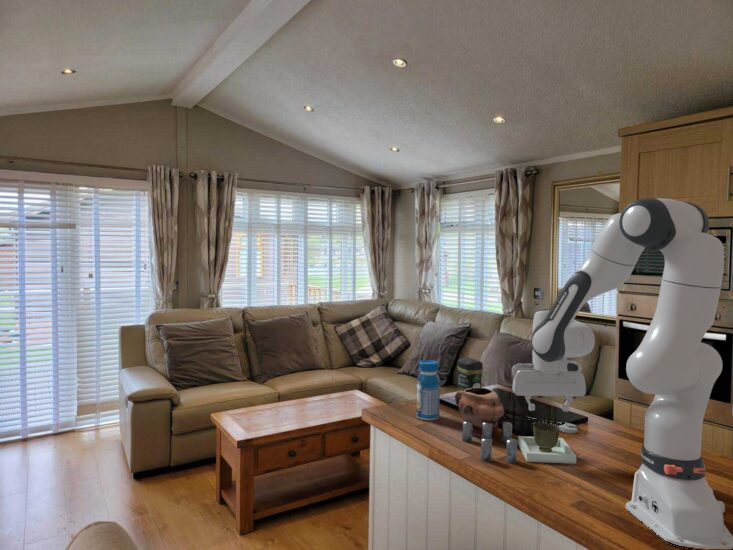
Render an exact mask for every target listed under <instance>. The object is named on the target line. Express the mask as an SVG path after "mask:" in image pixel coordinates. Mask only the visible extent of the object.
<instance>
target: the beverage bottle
mask: <svg viewBox="0 0 733 550" xmlns="http://www.w3.org/2000/svg"><path fill="white" fill-rule="evenodd" d="M418 369H419V370H418V371H419V374H418V376H417V379H416V382H417V384H416V388H415V389H416V412H415V413H416V415H415V416H416V417H417V418H418V419H420V420H422V421H437V420H438V419H439V418H440V393H441V386H440V383H441V379H440V377H439V375H438V372H439V362H438V361H437V360H432V359H422V360H420V361H419V363H418Z"/></svg>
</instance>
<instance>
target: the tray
mask: <svg viewBox="0 0 733 550" xmlns="http://www.w3.org/2000/svg"><path fill="white" fill-rule="evenodd" d="M517 446H519V449H520V451H521V452H522V455H523V457H524V459H525V461H526V462H530V463H531V462H532V463H546V464H549V463H550V464H566V465H567V464H569V465H577V455H576V453H575V452H574V451H573V449H572V448H571V447H570V446H569V444H568V443H567V442H566V441H565V439H564V438H563V437H558V441H557V444H556V446H555V447H553V448H552V452H551V453H545V452H540V450H539V446H538V445H537V444H536V442H535V439H534V436H525V435H524V436H523V435H517Z"/></svg>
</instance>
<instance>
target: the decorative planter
mask: <svg viewBox="0 0 733 550" xmlns="http://www.w3.org/2000/svg"><path fill="white" fill-rule="evenodd" d="M460 396H462V398H461V400H460V402H459V398H460ZM454 398H455V404H456V405H457V406H458V411H459V413H460V415H461V417H462V422H463V421H464V420H469V421H472V422H473V430H472V436H477V437H482V422H483V421H489V422H492V437H493V436H496V435H497V433H498V430H499V419H501V418H502V417H504V414H505V408H504V406H503V404H502V403H501V402H502V401H501V399H500V397H499V395H498V392H495V391H493V390H492V389H488V388H485V387H482V388H469V389H465V390H464V391H458V390H457V391H456V393H455V396H454Z"/></svg>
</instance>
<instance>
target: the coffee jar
mask: <svg viewBox="0 0 733 550" xmlns="http://www.w3.org/2000/svg"><path fill="white" fill-rule="evenodd" d="M483 371H484V365H483V362H482V361H481V360H478V359H474V358H471V357H469V356H466V357H460V358H459V359H458V360H457V372H458V373H457V375H458V378H457V379H458V380H457V392H458V391H464V390H465V389H469V388H483V387H482V385H483V384H482V378H483V377H482V376H483ZM461 398H462V396H460V398H459V402H460V400H461Z"/></svg>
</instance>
